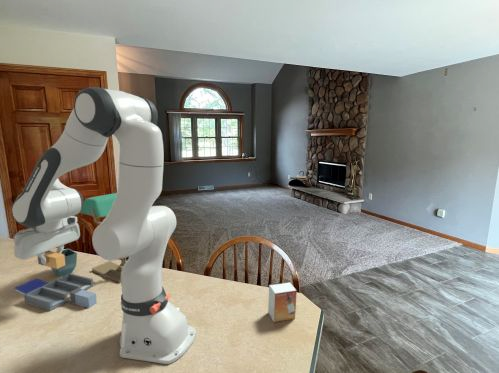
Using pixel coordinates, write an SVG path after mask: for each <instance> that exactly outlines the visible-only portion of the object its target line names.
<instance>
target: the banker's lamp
mask: <svg viewBox="0 0 499 373" xmlns="http://www.w3.org/2000/svg"><path fill="white" fill-rule="evenodd" d="M116 194H117V192H114V193H110V194H108V193H107V194H104V195H97V196H92V197H88V198H85V199H84V200H83V208H82V210H81V212H80V213H79V214H82V215H87V216H91V217H92V219H93V222H94V223H95V225H100V224H101V223H102V221H98V218H104V217H106V216H107V215H108V213H109V211H110V209H111V207H112V205H113V203H114V200H115V197H116ZM126 258H127V257H125V258H121V259H120V264H116V263H115V262H112V261H109V260H107V261H106V262H103V263H100V264H98V265H96V266H93V267H92V272H93V273H95V274H97V275H100V276H102V277H105V278H106V279H109V280H111V281H114V282H115V283H118V284H122V283H121V271H122V268H123V266H124V264H125V263H126V262H127V259H126Z"/></svg>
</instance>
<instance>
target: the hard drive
mask: <svg viewBox="0 0 499 373" xmlns="http://www.w3.org/2000/svg"><path fill="white" fill-rule="evenodd" d="M48 283H49V282H46V281H44V280H42V279H40V278H35V279H32V280H30V281H27V282H24V283H22V284H19V285H17V286H15V287H14V288H13V290H14V291H15V292H18V293H20V294H22V295H25V294H27V293H29V292H31V291H33V290H35V289H37V288H39V287H42V286H44V285H46V284H48Z"/></svg>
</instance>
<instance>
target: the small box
mask: <svg viewBox="0 0 499 373" xmlns="http://www.w3.org/2000/svg"><path fill="white" fill-rule="evenodd" d="M297 292H298V291H297V289H296V288H295V287H294V285H293V284H292V282H285V283H277V284H269V285H268V306H267V313H268V315H269V316H270V318H271V321H272V322H274V323H277V322H282V321H288V320H289V321H290V320H295V319H296V310H297V307H296V306H297Z"/></svg>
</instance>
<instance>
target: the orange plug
mask: <svg viewBox="0 0 499 373" xmlns="http://www.w3.org/2000/svg"><path fill="white" fill-rule="evenodd" d="M43 256H44V257H47V258H49V262H48V263H46V264H42V263H41V259H40V258H39V257H38V256H37V262H38V265H40V266H41V265H42V266H44V267H45V266H46V267H49V268H51V267H52V268H55V269H58V268H60V267H62V266H65V255H64V254H60V253H56V251H51V250H49V251H46V252H45V255H43Z"/></svg>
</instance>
